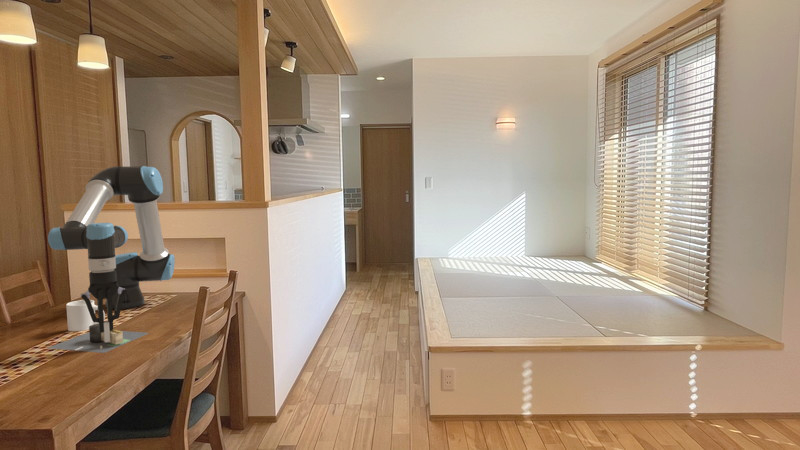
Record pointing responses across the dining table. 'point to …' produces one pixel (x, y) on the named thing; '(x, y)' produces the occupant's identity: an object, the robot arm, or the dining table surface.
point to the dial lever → (98, 337)
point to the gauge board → (85, 345)
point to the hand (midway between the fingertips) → (106, 341)
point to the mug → (80, 315)
